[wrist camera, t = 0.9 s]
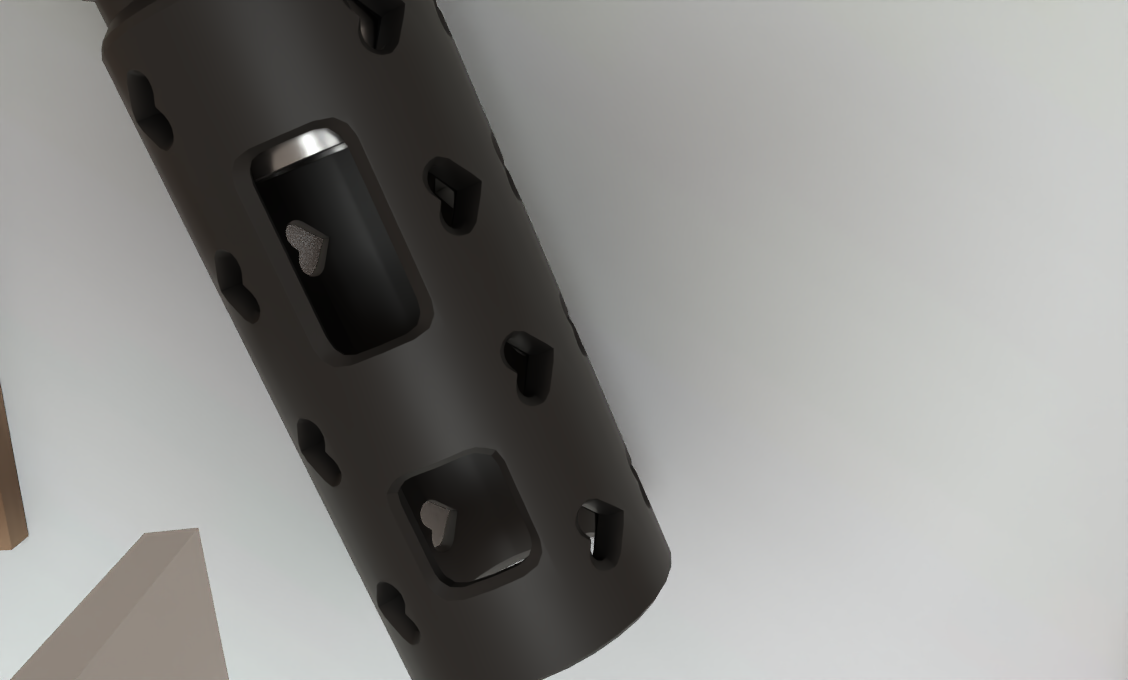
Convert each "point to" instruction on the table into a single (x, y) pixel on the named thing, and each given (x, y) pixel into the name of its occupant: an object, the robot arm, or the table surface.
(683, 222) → the table surface
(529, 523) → the muzzle brake
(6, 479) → the mounting board
